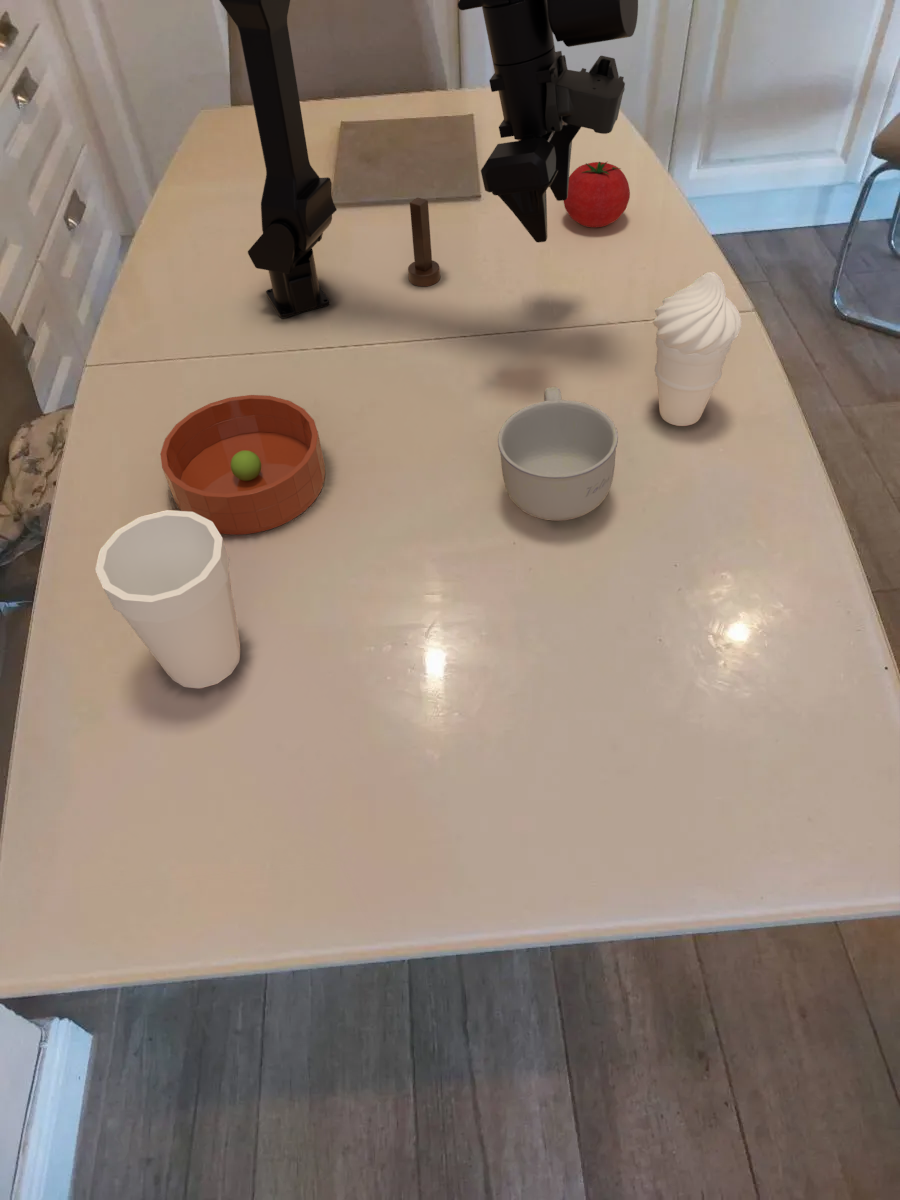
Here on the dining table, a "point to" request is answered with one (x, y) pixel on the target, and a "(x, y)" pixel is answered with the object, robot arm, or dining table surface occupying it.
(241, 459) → the grape
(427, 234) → the stir stick
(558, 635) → the dining table surface
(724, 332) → the ice cream cone
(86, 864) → the dining table surface
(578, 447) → the teacup
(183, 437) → the bowl
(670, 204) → the dining table surface
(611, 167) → the tomato
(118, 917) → the dining table surface
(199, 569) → the foam cup
